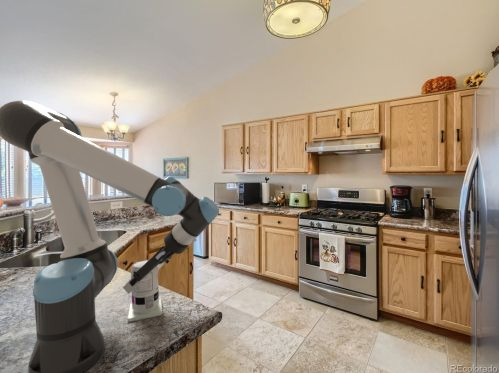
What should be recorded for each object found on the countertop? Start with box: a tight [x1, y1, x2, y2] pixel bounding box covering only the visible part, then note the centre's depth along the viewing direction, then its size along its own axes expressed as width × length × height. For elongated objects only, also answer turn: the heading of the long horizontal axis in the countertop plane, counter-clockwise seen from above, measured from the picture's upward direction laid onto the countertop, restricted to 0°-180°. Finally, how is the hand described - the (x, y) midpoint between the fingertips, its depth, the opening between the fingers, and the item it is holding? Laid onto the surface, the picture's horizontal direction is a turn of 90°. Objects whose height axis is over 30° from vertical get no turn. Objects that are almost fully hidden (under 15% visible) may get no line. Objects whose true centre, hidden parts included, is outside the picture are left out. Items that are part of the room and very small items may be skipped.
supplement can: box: [130, 259, 160, 313], centre depth 83 cm, size 8×8×15 cm
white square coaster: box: [127, 297, 163, 322], centre depth 83 cm, size 10×10×1 cm
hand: (139, 280), depth 83 cm, fingers open, 13 cm apart
